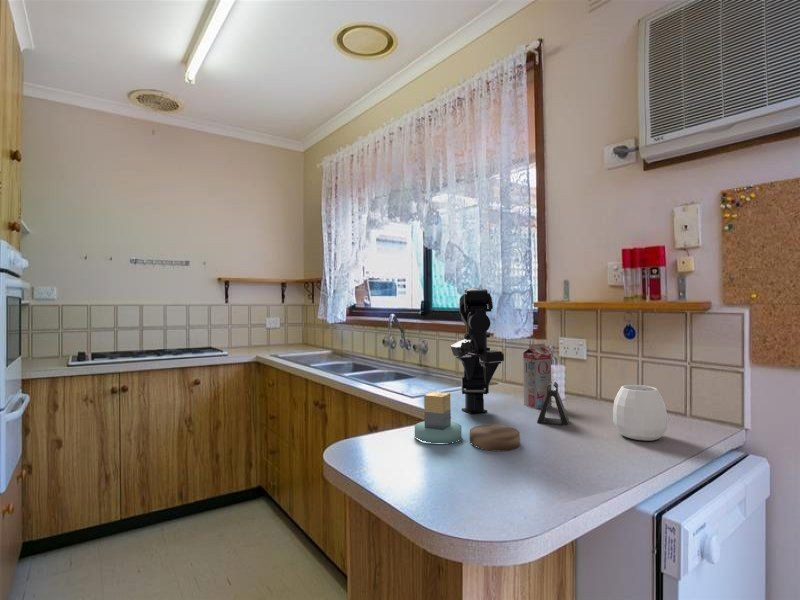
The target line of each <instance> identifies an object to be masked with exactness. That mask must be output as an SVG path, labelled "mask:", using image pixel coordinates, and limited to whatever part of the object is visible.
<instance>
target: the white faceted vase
mask: <svg viewBox="0 0 800 600" xmlns="http://www.w3.org/2000/svg"><path fill="white" fill-rule="evenodd" d="M612 420H613V424H614V427H615V429H616V430H617V432H619V433H620V434H621V435H622V436H624V437H625V438H628V439H631V440H636V441H637V440H638V441H657V440H658V439H660V438H661V437H663V436H664V435H665V433H666V430H667V428H668V413H667V407H666V403H665V401H664V398H663V396H662V394H660V391H659V390H658V388H656V387H653V386H650V385H643V384H624V385H621V387H620V389H619V390H618V392H617V394H616V395H615V398H614V401H613V409H612Z"/></svg>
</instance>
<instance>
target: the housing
mask: <svg viewBox="0 0 800 600" xmlns="http://www.w3.org/2000/svg"><path fill="white" fill-rule="evenodd" d="M423 403H424V404H423V406H424V409H423V411H424V414H423V415H424V420H423V421H425V428H430V429H437V430H444V429H446V428H447V427H449V426H450V425H451V421H452V420H451V416H452V414H451V411H452V410H451V407H452V406H451V392H441V391H430V392H427V394H424V395H423Z"/></svg>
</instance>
